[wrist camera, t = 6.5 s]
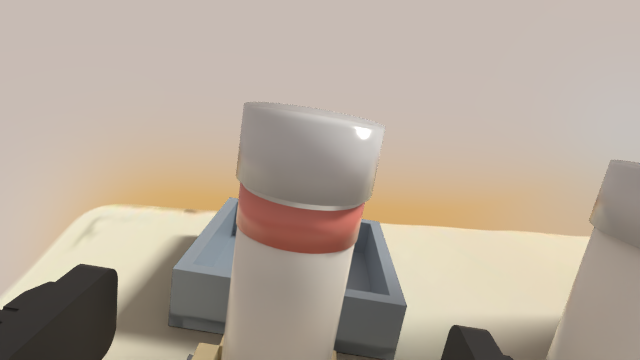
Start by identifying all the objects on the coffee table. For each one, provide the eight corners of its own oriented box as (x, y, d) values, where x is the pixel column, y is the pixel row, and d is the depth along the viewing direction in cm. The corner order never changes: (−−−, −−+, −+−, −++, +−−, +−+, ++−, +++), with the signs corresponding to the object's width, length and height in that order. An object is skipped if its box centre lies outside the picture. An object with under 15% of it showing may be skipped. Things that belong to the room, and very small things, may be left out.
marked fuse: (318, 409, 16) (376, 118, 13) (315, 513, 13) (396, 137, 9) (221, 395, 16) (257, 98, 13) (188, 494, 12) (228, 109, 9)
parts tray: (370, 259, 35) (378, 221, 34) (393, 360, 22) (406, 305, 22) (225, 236, 34) (229, 197, 33) (168, 325, 22) (172, 268, 21)
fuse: (580, 450, 17) (698, 172, 14) (656, 564, 13) (844, 212, 10) (486, 436, 17) (582, 153, 13) (534, 546, 13) (684, 185, 10)
